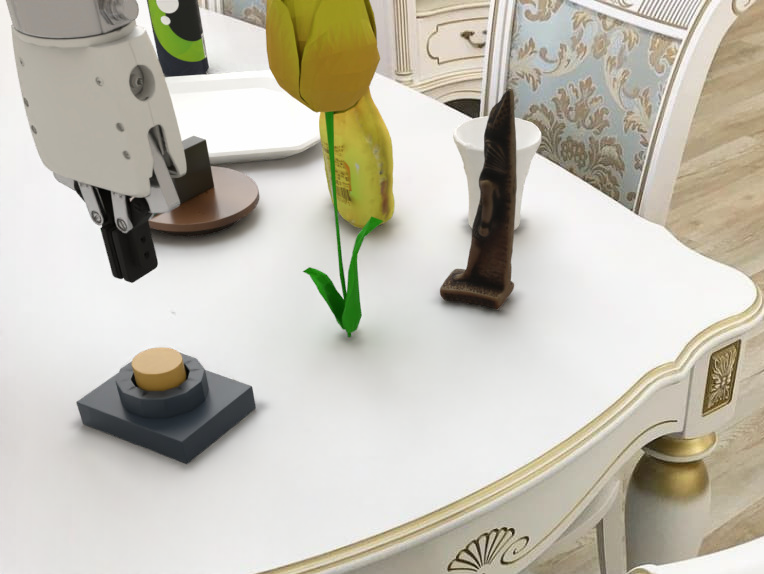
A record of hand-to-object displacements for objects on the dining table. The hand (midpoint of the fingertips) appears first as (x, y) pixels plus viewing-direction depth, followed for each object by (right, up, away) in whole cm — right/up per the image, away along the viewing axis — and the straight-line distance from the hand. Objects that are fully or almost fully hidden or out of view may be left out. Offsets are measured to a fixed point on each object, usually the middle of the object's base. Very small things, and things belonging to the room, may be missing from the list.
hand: (136, 272), depth 83 cm
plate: (-7, +34, +50) cm, 61 cm away
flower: (+13, 0, +19) cm, 23 cm away
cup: (+27, +16, +34) cm, 46 cm away
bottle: (+12, +18, +36) cm, 42 cm away
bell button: (0, -6, +7) cm, 9 cm away
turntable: (-6, +19, +34) cm, 39 cm away
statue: (+25, +5, +24) cm, 35 cm away
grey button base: (0, -9, +9) cm, 13 cm away
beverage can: (-15, +47, +63) cm, 79 cm away
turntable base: (-6, +18, +35) cm, 39 cm away
